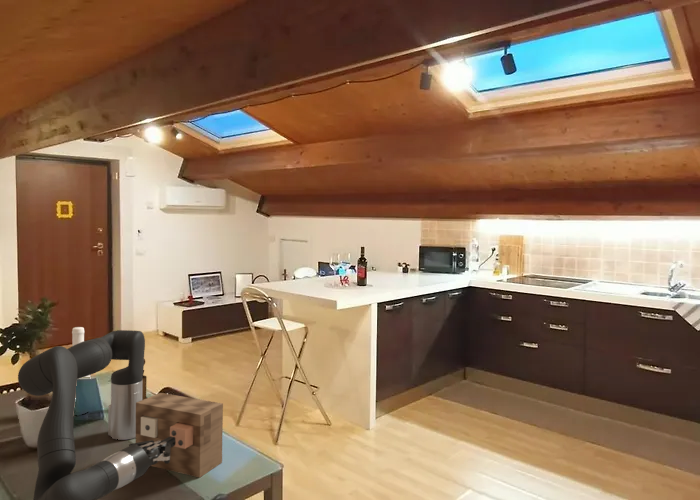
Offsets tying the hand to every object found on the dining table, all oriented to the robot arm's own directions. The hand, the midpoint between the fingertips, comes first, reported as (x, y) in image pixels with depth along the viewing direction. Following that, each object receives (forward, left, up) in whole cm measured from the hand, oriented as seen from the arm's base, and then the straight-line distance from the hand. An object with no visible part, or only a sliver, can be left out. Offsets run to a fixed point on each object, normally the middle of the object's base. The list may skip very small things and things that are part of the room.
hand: (173, 440), depth 140 cm
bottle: (-64, +27, -11) cm, 70 cm away
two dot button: (0, +4, -2) cm, 5 cm away
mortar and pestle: (-49, +41, -11) cm, 65 cm away
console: (-6, +10, -11) cm, 16 cm away
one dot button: (-12, +6, -2) cm, 14 cm away
